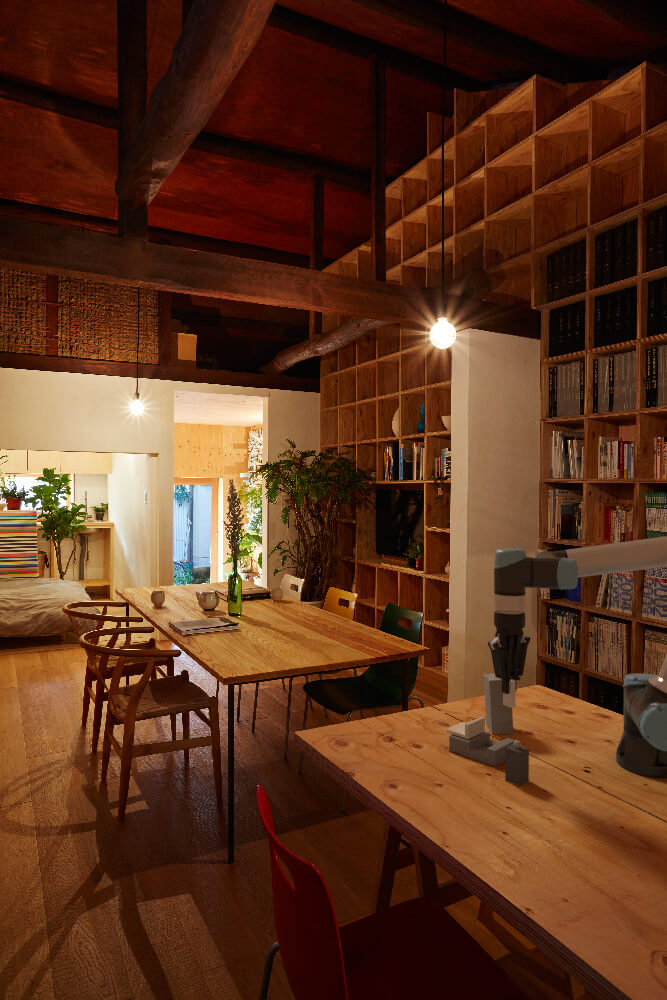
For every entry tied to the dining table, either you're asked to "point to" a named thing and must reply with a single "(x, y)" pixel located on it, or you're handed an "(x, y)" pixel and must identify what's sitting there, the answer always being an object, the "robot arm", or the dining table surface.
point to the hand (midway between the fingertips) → (509, 705)
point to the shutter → (468, 728)
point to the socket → (480, 748)
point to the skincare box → (496, 707)
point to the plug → (517, 764)
